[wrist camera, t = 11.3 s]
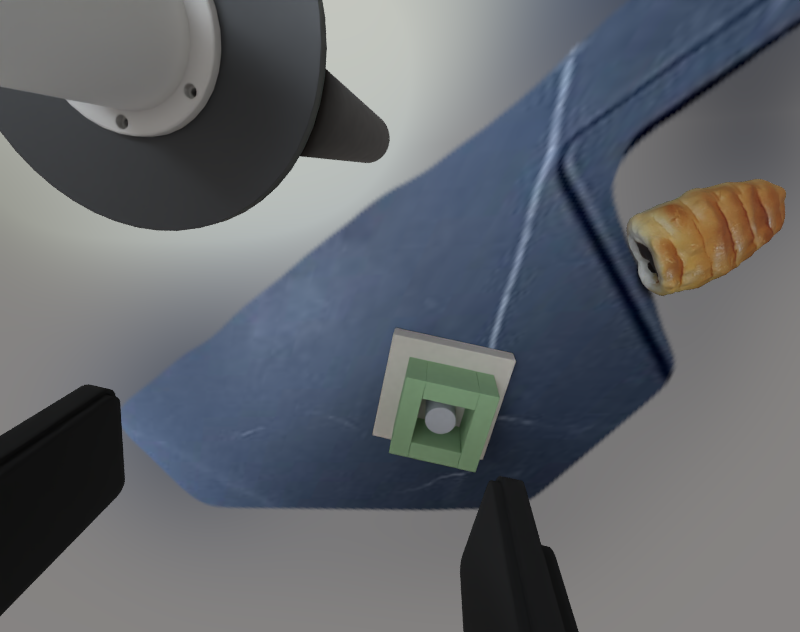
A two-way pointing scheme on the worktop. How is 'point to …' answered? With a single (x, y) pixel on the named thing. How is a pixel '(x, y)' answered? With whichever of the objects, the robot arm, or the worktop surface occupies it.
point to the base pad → (444, 352)
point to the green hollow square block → (447, 388)
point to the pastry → (704, 233)
